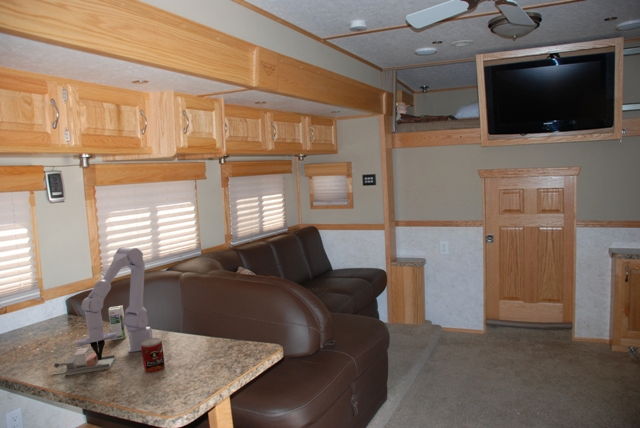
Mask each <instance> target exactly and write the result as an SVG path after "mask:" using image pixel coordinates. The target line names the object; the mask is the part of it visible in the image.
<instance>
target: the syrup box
mask: <svg viewBox="0 0 640 428" xmlns="http://www.w3.org/2000/svg"><path fill="white" fill-rule="evenodd" d="M107 310H108V311H107V313H108V317H109V318H108V319H109V325H110V333H115V332H116V335H117V338H115V339H114V338H113V339H111V340H112V341H115V340H123V339H126V337H127V326H125V325H124V323H123V318H124V315H125V312H124V306H123V305H118V306H117V305H116V306H110V307H109V308H108V309H107Z"/></svg>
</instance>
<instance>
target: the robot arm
mask: <svg viewBox="0 0 640 428" xmlns="http://www.w3.org/2000/svg"><path fill="white" fill-rule="evenodd" d="M112 257H113V259H112V262H111V263H110V265H109V267H108V269H107V270H106V273H105V274H104V276H103V278H102V279H99V280H98V281H97V282H95V283H94V287H93V289H92V290H91V291H90V292H89V294H88V295H87V297H85V298H84V299H83V300H82V302H81V305H80V308H81V311H83V312H84V315H85V321H86V322H85V323H86V329H87V337H86V338H83V339H79V340H76V345H77V348H79V347H82V346H87V345H90V347H91V349H92V350H93V351H94V353H96V355H97V357H98V360H102V355H103V352H104V351H103V350H104V347H105V344H106V342H105V341H108V340H112V339H113V338H114V339H115V338H117V335H116V332H115V333H111V332H109V333H105V331H104V325H103V323H104V322H103V316H102V309H103V308H104V301H105V298H106V297H107V296H108V294H109V292H110V291H111V288H112V282H113V280H114V279H115V278H116V276H117V275H118V274H119V272H120V271H121V270H122V268H125V267H128V268H129V269H130V283H129V284H130V285H129V300H128V302H129V305H128V306H127V308H126V309H125V312H124V318H123V323H124V325H125V326H126V330H127V331H128V342H129V349H128V350H127V351H128V352H127V353H134V352H135V353H136V352H142V349H141V342H143V341H144V340H147V339H150V338H154V337H153V329H152V327H151V326H147V325H148V324H149V317H148V310H147V309H146V308H145V307H144V291H145V290H144V287H145V268H146V267H145V266H146V265H145V262H144V252H143V251H142V250H141V249H139V248H137V247H119V248H118V249H117V250H116V251H115V253H114V255H113V256H112Z"/></svg>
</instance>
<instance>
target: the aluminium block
mask: <svg viewBox="0 0 640 428" xmlns="http://www.w3.org/2000/svg"><path fill="white" fill-rule="evenodd" d="M90 347H91V346H87V347H81V348H79V347H78V349H77V351H75V353H74V354H73V356H74V359H75V365H76V368H82V367H86V360H87V359H88V357H89V356H90V355H91V354H92V353H91V348H90Z"/></svg>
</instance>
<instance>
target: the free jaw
mask: <svg viewBox="0 0 640 428" xmlns="http://www.w3.org/2000/svg"><path fill="white" fill-rule="evenodd" d="M90 354H91V355H90V356H89V357H88V359H87V360H86V367H88V366H95V365H96V364H97V362H98V361H99V360H98V357H97V355H96V353H95V352H94V353H93V352H92V353H90Z"/></svg>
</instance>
